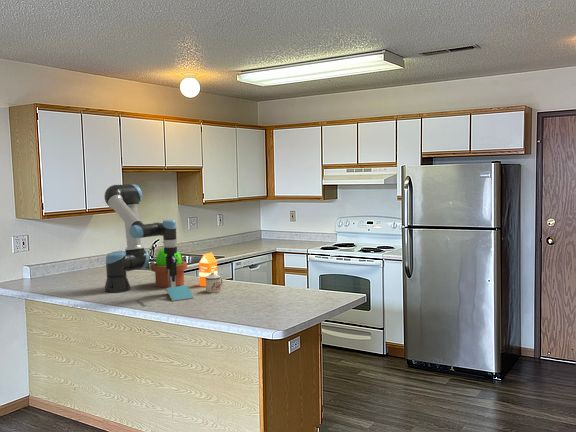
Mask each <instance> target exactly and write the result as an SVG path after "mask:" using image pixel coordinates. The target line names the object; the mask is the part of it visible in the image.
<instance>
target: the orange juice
mask: <svg viewBox="0 0 576 432" xmlns="http://www.w3.org/2000/svg"><path fill="white" fill-rule="evenodd" d="M198 272H199V275H198V276H199V286H200V287H206V279H205V277H206V276H208V275H210V274H211V272H214V274H216V275H218V261H217V259H216V257H215V256H214V254H213V252H208V253H204V254H203V255H202V257H201V258H200V260H199V262H198Z"/></svg>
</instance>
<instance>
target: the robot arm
mask: <svg viewBox="0 0 576 432" xmlns="http://www.w3.org/2000/svg"><path fill="white" fill-rule="evenodd" d="M103 198H104V201H105V203H106V205H107V206H108V207H109V208H111V209H113V210H114V211H115V213H116V214H117V215H118V217H120V219H121V220H122V221H123V222H124V229H125V239H126V247H125V249H124V250H118V251H117V250H116V251H112V252H110V253H107V255H106V256H105V268H106V281H105V283H104V292H106V293H121V292H127V291H129V290H131V284H130V282H129V280H128V276H127V272H130V271H137V270H142V269H146V268H147V266H148V264H149V261H150V255H149V252H148V250H146V249H145V246H143V245H142V240H141V239H142V238H150V237H157V236H159V237H160V236H162V237H163V239H162V240H163V241H162V244H163V248H164V254H167V256H166V257H165V259H166V271H167V273H168V269H170V271H171V275H170V280H171V287H177V286H176V281H175V276H176V275H177V270H176V261H177V259H175V256H174V254H175V253H177V250H178V246H177V245H178V240H177V226H176V220H175V219H166V220H165V219H164V220H162V222H153V223H143V221H141V220H140V218H139V214H138V213H139V211H138V207H139V206H140V202H142V199H143V192H142V189H141V188H140V187H139V186H138V185H137V184H135V183H133V184H131V183H125V184H113V185H110V186H109V187H107V189H106V190H105V192H104V197H103Z"/></svg>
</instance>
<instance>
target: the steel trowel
mask: <svg viewBox="0 0 576 432" xmlns="http://www.w3.org/2000/svg"><path fill="white" fill-rule="evenodd" d="M170 275H171V271H170V269H168V287H167V288H170V287H171V280H170ZM175 281H176V276H175ZM164 292H165V293H167V294H168V292H167V290H166V288H165V289H164Z"/></svg>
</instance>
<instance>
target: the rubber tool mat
mask: <svg viewBox="0 0 576 432" xmlns="http://www.w3.org/2000/svg"><path fill="white" fill-rule="evenodd" d="M134 301H135V303H138V304H139V305H140V306H141V307H147V305H146V304H145V303H143V302H142V301H140V300H139V299H138V300H137V299H136V300H134Z"/></svg>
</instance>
